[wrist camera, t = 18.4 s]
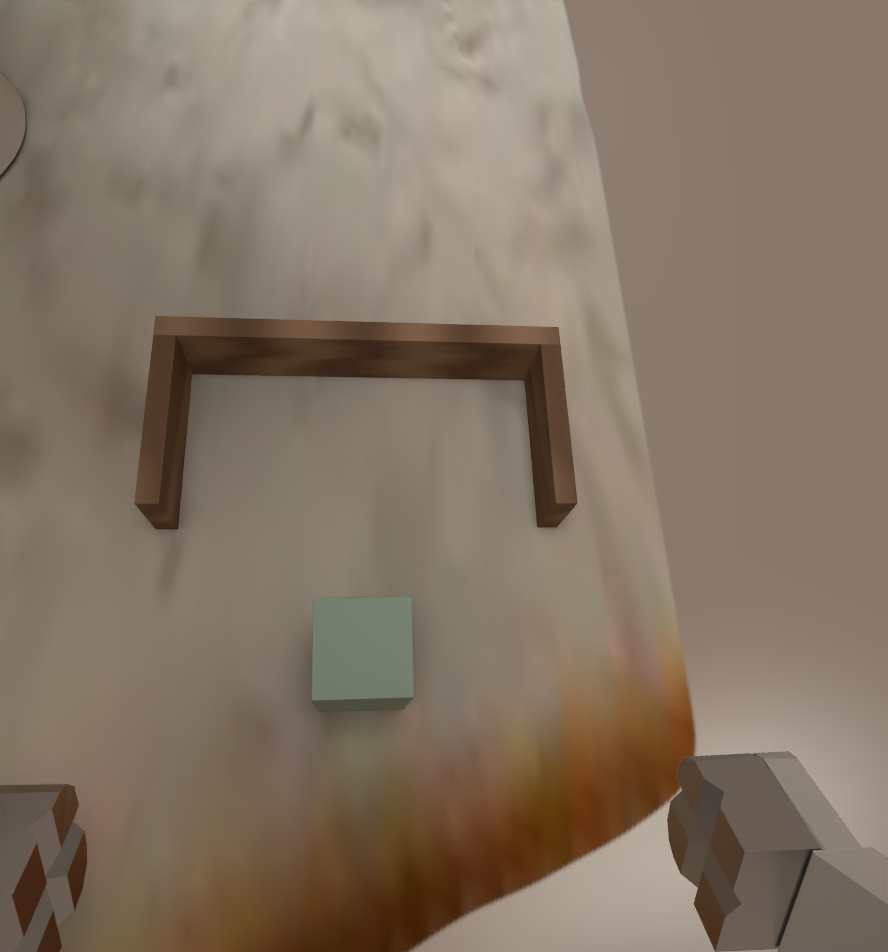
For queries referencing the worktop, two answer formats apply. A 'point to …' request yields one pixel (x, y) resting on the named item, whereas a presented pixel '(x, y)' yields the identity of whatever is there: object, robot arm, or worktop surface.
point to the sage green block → (362, 653)
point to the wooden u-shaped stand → (350, 355)
